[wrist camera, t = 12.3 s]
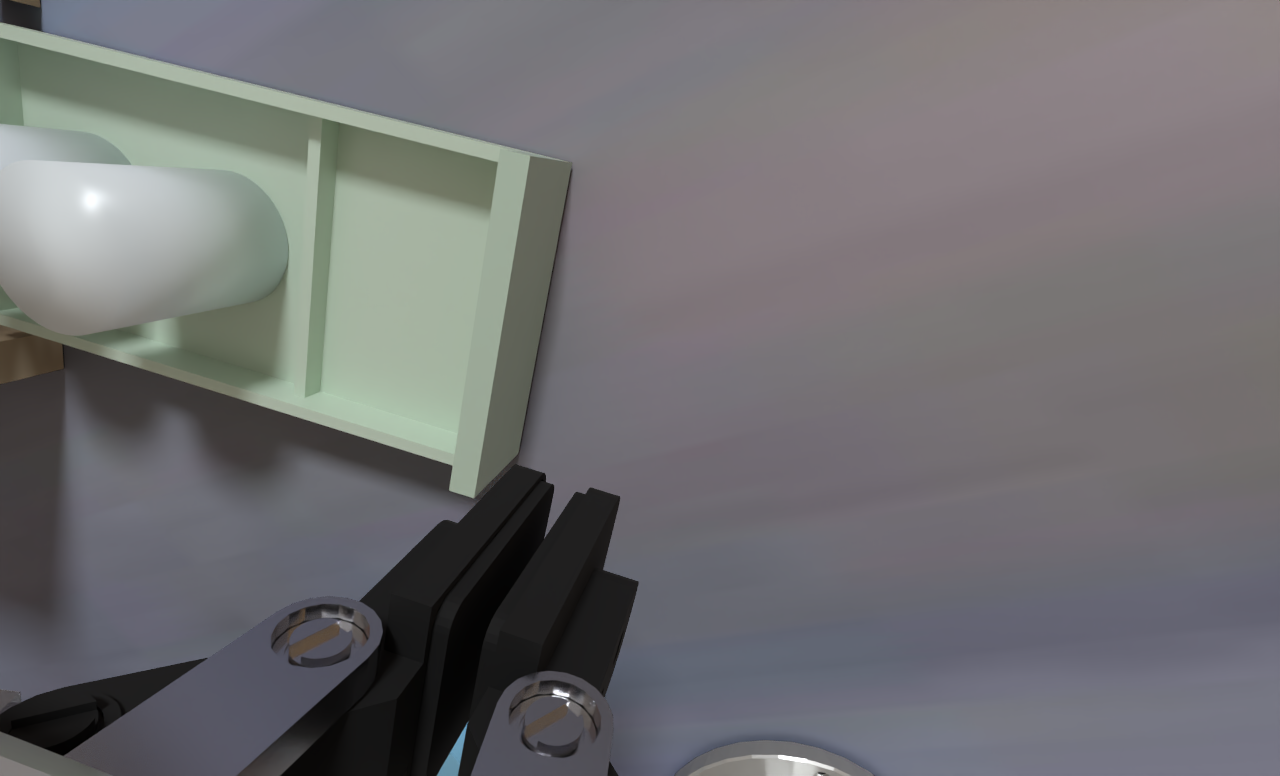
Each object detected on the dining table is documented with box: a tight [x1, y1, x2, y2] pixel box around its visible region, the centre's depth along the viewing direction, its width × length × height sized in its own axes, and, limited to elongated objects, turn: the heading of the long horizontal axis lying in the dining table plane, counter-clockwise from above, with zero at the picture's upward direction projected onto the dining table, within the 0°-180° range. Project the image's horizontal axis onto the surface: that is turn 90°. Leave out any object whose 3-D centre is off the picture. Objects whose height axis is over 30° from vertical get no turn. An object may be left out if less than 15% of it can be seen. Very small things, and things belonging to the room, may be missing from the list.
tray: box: [0, 22, 572, 498], centre depth 25 cm, size 12×24×4 cm, turn 76°
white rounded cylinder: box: [0, 124, 132, 170], centre depth 24 cm, size 5×5×7 cm
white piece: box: [0, 160, 288, 336], centre depth 24 cm, size 5×5×7 cm
